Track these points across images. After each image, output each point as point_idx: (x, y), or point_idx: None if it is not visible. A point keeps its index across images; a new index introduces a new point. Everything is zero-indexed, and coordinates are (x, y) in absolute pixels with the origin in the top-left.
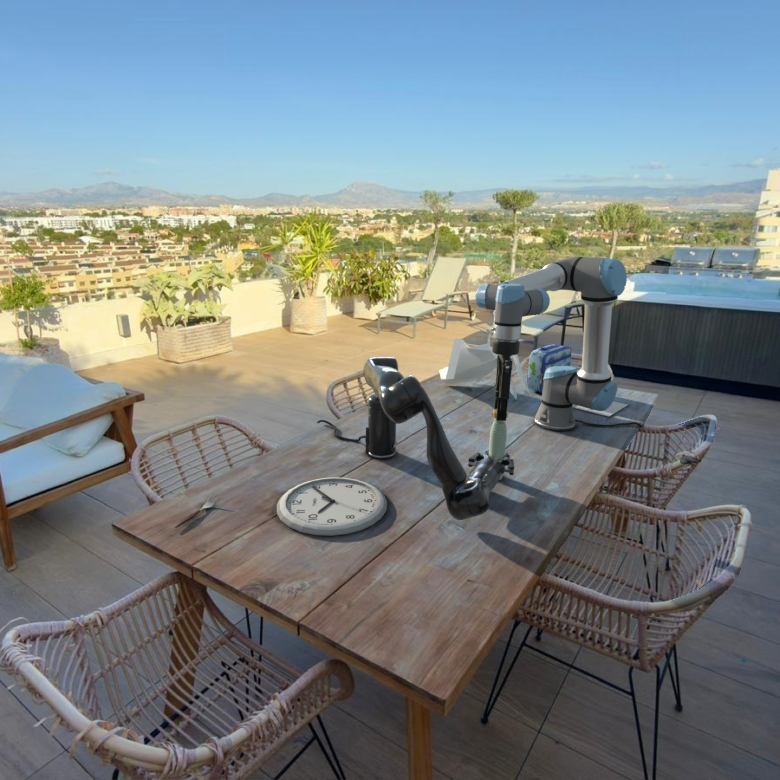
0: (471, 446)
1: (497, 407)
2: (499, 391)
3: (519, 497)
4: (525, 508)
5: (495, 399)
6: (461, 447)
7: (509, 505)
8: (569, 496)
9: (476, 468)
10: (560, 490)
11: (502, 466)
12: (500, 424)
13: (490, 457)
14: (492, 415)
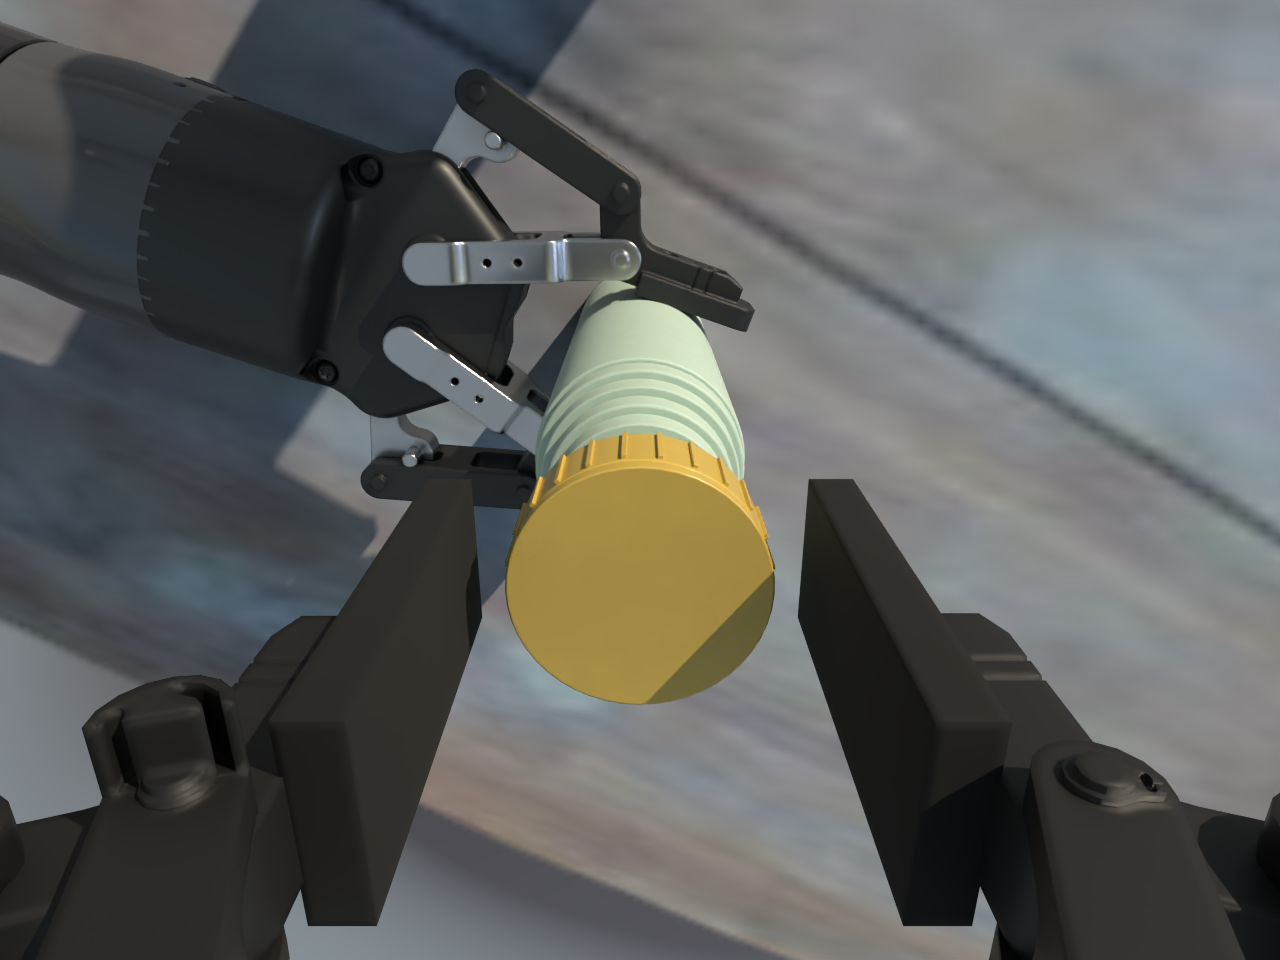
0: (1247, 175)
1: (378, 588)
2: (150, 937)
3: (352, 464)
4: (214, 480)
5: (874, 606)
6: (1236, 70)
7: (222, 385)
8: None
9: (49, 123)
10: (504, 711)
11: (371, 400)
12: None
13: (596, 311)
14: (654, 435)
